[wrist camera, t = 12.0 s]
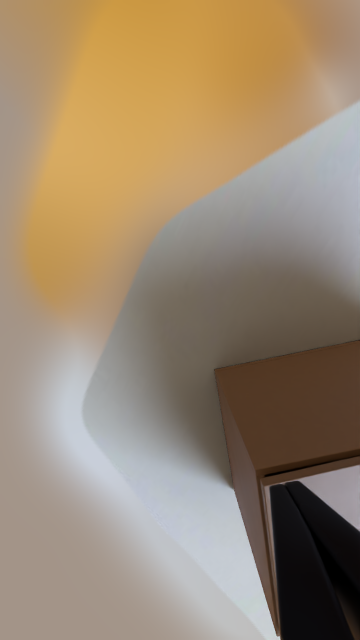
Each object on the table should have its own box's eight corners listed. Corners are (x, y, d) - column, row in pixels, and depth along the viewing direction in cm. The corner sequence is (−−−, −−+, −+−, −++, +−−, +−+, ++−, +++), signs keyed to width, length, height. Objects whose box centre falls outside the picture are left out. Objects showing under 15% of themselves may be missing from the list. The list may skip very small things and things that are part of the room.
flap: (281, 646, 15) (284, 656, 15) (259, 478, 12) (263, 486, 12) (401, 616, 16) (407, 625, 15) (415, 442, 12) (423, 449, 12)
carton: (234, 490, 25) (283, 657, 15) (214, 369, 21) (261, 485, 12) (390, 458, 25) (537, 602, 15) (396, 332, 21) (593, 416, 12)
